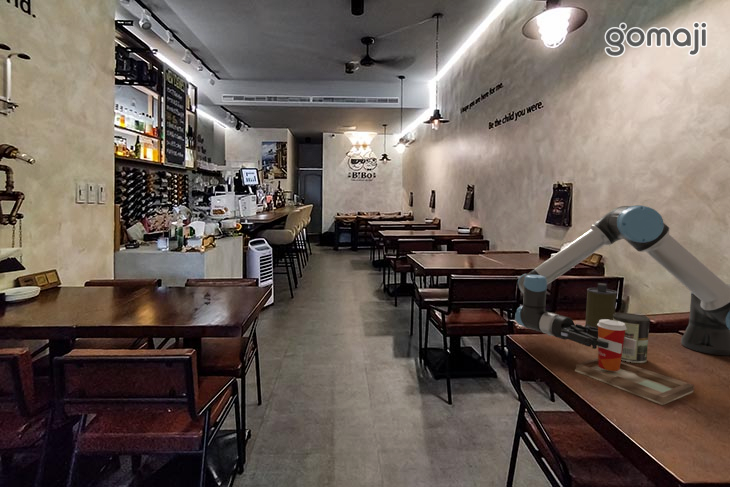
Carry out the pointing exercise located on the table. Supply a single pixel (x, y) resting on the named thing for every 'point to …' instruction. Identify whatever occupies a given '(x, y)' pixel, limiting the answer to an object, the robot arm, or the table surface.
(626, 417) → the table surface
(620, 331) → the paper cup
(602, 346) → the robot arm
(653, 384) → the seat pad
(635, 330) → the coffee can
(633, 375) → the keyhole slot
